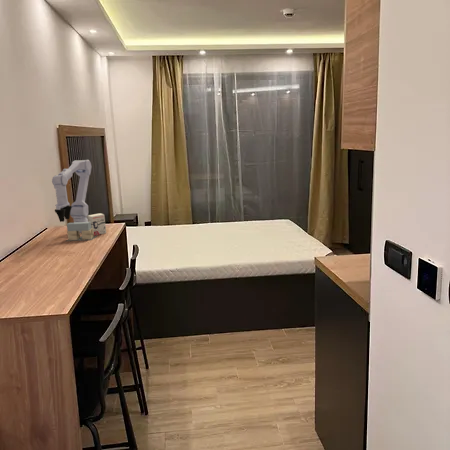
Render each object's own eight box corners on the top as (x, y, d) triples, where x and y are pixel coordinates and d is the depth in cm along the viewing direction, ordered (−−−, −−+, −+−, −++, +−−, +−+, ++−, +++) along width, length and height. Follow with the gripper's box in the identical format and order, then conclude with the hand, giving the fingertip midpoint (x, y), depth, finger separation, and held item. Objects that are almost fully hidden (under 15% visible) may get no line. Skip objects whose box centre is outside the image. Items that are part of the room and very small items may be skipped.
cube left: (71, 238, 246) (70, 229, 245) (80, 237, 246) (79, 229, 245) (68, 240, 241) (67, 231, 240) (77, 239, 241) (76, 231, 240)
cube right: (85, 237, 245) (84, 228, 244) (94, 237, 245) (93, 228, 244) (82, 239, 241) (81, 230, 240) (91, 239, 240) (90, 230, 239)
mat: (72, 237, 249) (72, 236, 249) (97, 236, 249) (97, 235, 249) (64, 242, 239) (64, 241, 238) (91, 240, 238) (91, 240, 238)
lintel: (67, 231, 240) (66, 224, 240) (70, 229, 244) (69, 222, 243) (88, 230, 240) (88, 223, 239) (91, 228, 244) (90, 221, 243)
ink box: (93, 236, 249) (91, 216, 247) (89, 235, 253) (87, 215, 250) (106, 233, 255) (104, 213, 252) (102, 232, 258) (100, 213, 256)
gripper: (59, 195, 251) (62, 218, 253) (49, 198, 236) (52, 223, 239) (72, 194, 250) (74, 217, 253) (62, 198, 236) (65, 222, 239)
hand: (64, 220), depth 246 cm, fingers open, 7 cm apart
